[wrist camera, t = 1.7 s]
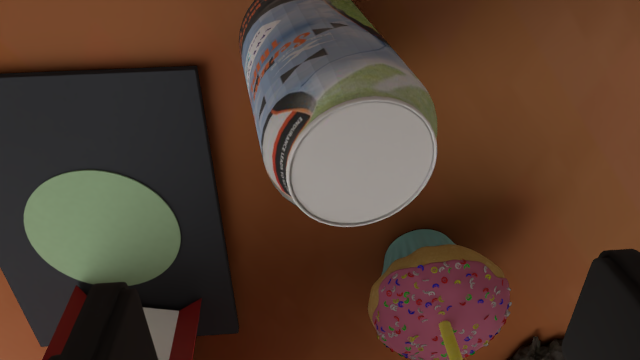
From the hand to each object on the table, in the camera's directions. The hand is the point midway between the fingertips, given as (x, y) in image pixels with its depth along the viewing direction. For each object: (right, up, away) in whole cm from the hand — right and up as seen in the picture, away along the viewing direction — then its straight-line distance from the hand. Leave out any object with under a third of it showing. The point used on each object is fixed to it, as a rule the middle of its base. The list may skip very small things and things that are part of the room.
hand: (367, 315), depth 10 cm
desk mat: (-14, 0, +20) cm, 24 cm away
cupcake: (+6, -2, +23) cm, 24 cm away
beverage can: (-1, +10, +15) cm, 18 cm away
